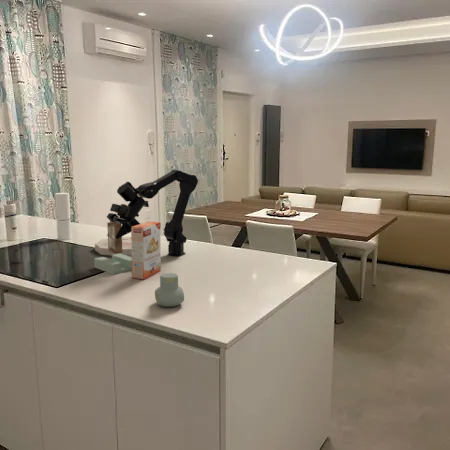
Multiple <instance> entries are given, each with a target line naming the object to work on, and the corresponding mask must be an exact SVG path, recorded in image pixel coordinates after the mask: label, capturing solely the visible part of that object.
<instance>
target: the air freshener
mask: <svg viewBox="0 0 450 450" xmlns="http://www.w3.org/2000/svg"><path fill="white" fill-rule="evenodd" d="M159 283H160V284H159V285H160V286H159V287H158V288H156V289H155V291H154V298H155V302H156V303H157V305H158V306H160V307H165V308H173V307H176V306H179V305H181V304H182V303H184V301H185V292H184V290H183V288H182V287H181V286H179V275H178V274H177V273H173V272H167V273H165V272H164V273H163V274H161V275H160V277H159Z"/></svg>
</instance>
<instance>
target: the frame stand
mask: <svg viewBox="0 0 450 450" xmlns="http://www.w3.org/2000/svg"><path fill="white" fill-rule="evenodd" d="M94 268H95V269H98V270H101V271H103V272H106V273H109V274H110V275H116V274H121V273H125V272H129V271H132V256H126V255H123V254H115V255H112V256H111V259H110V258H107V257H104V256H100V257H96V258H94Z"/></svg>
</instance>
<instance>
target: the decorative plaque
mask: <svg viewBox="0 0 450 450" xmlns="http://www.w3.org/2000/svg"><path fill="white" fill-rule="evenodd" d="M94 251H95V252H97V253H98V255H103V256H111V257H112V255H115V253H112V252H109V251H108V238H105V239H101V240H99V241H97V242H95V243H94ZM118 254H123V255H126V256H129V257H132V244H131V236H122V253H118Z"/></svg>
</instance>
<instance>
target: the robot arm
mask: <svg viewBox="0 0 450 450" xmlns="http://www.w3.org/2000/svg"><path fill="white" fill-rule="evenodd" d="M175 181H176V182H178V183H179V185H178V187H179V193H178V194H179V195H178V198H177V202H176V204H175V208H174V211H173V214H172V218H171V220H170V221H166V222H165V226H164V228H163V235H164V237H165V238H166V242H168V247H167V248H168V253H167V256H174V257H181V256H183V255H186V252H185V249H184V248H185V247H184V246H185V245H184V243H186V242H187V239H188V238H187V237H186V236H185V235H184V233H183V231H184V227H183V219H184V217H185V214H186V209H187V207H188V203H189V200H190V196H191V194H192V193H193V192H194V191H195V190H196V188H197V186H198V183H199V179H198V177H197V176H196V175H194V174H189V173H186V172H183V171H182V170H180V169H172V170H170V172H168V173H166V174H164V175H162V176H161V177H158V178H157V179H155V180H153V181H150V182H146V183H143V184H140V185H138V187H136V188H135V187H134V186H133V184H132V183H131V182H130V181H126V182H125V183H123V184H121V185H120V186H118V188H117V191H116V192H117V194H118V195H119V196H120V197H121V198H122V199H123V200H124V201H125V202H127V203H128V202H129V203H128V204H125V203H121V204H117V203H112V204H111V207H110V210H109V211H110V213H108V214H107V216H106V218H107V219H108V220H109V222H117V223H121V228H120V230H119V232H118V233H117V235H116V237H115V238H116V239H119V238H120V237H125V235H128V234H131V227H132V226H136V225H139V224H141V223H140V222H139V221H138V220H137V218H138V217H139V216H140V214H139V213H140V212H141V210H142V209H143V208H144V207H145V208H149V207H150V205H149V201H148V200H146V199H153V198H154V197H155V196H156V195H158V194H159V192H160V191H161V190H162V189H163V188H166V187H167V186H169V185H170V184H172V183H175ZM112 212H114V213H112ZM106 236H107V237H108V233H107V234H106Z"/></svg>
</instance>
